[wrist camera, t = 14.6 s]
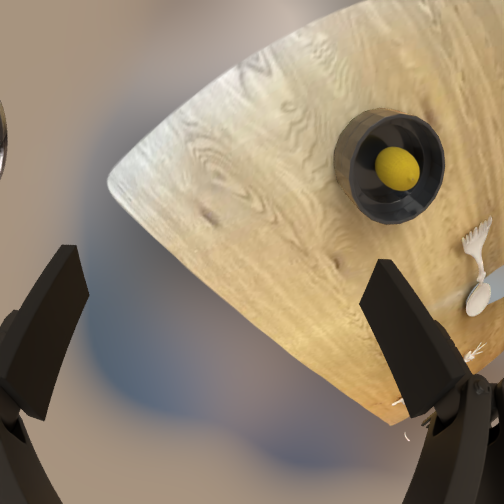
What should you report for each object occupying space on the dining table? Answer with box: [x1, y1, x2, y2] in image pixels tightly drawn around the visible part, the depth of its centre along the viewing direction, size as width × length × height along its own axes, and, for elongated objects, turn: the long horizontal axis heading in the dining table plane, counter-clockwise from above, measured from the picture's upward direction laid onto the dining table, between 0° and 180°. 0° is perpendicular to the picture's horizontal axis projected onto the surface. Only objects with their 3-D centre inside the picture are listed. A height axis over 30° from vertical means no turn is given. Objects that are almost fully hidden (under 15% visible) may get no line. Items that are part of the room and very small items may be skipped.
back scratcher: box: [462, 216, 492, 316], centre depth 50 cm, size 9×32×4 cm, turn 35°
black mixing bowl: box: [334, 108, 445, 225], centre depth 34 cm, size 15×15×6 cm
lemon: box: [375, 147, 420, 191], centre depth 33 cm, size 6×6×8 cm
